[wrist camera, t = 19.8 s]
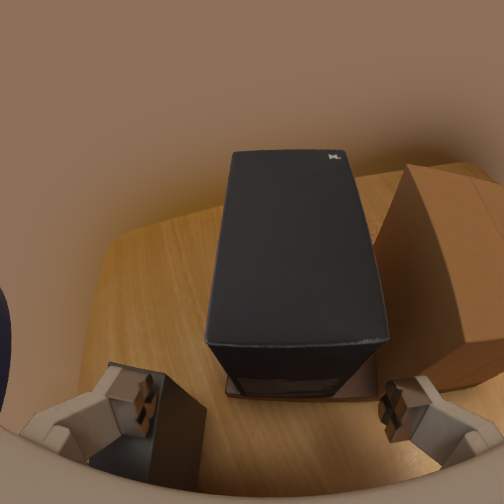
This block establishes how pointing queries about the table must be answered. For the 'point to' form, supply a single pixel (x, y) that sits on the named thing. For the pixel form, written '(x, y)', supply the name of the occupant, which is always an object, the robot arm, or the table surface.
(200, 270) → the table surface
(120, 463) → the dark grey flat block
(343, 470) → the table surface
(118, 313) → the table surface
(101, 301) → the table surface
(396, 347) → the box
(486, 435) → the robot arm
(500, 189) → the box
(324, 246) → the small box
